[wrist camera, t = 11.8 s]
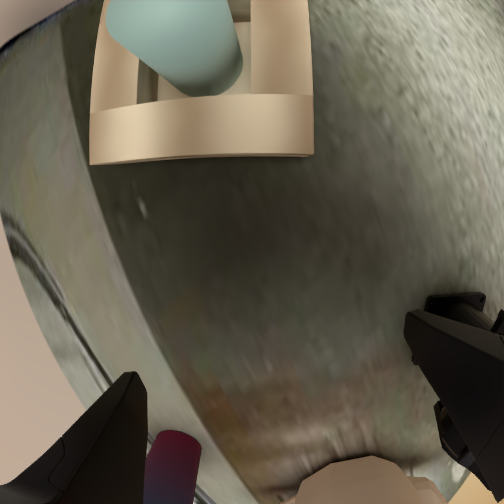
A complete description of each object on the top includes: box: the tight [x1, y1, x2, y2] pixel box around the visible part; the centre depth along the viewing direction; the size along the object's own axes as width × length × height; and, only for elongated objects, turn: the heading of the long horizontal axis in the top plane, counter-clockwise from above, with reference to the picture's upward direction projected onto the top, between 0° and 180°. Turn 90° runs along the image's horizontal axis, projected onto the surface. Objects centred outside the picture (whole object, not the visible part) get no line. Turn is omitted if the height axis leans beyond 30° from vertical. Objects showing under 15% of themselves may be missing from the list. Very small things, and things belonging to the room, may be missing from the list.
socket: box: [90, 0, 314, 165], centre depth 16 cm, size 13×13×4 cm
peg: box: [106, 0, 243, 97], centre depth 13 cm, size 5×5×9 cm
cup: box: [143, 430, 201, 504], centre depth 20 cm, size 7×7×15 cm
